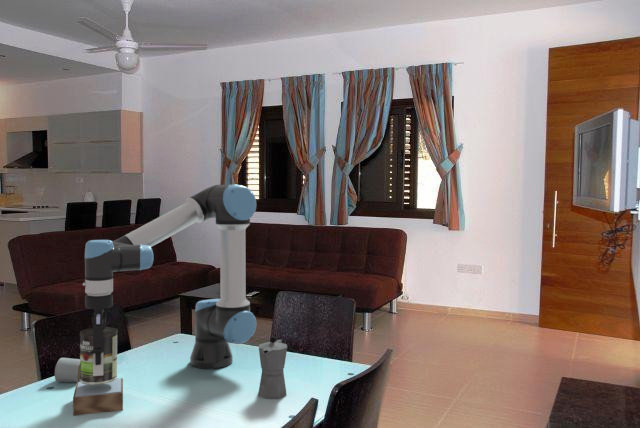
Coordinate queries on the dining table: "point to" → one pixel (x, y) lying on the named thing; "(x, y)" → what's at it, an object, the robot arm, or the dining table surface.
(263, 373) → the coffeepot
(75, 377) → the ceramic mug
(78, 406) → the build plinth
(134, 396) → the dining table surface
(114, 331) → the coffee can
